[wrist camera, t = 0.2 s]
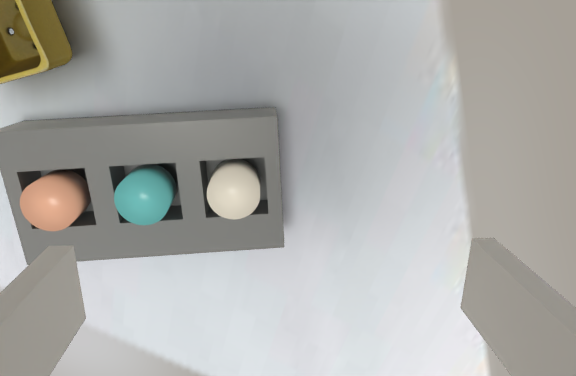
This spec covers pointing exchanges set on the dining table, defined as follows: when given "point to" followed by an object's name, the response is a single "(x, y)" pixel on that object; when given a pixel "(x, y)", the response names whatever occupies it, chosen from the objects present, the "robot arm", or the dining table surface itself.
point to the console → (138, 151)
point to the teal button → (145, 194)
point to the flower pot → (30, 39)
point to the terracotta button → (55, 200)
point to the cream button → (234, 189)
